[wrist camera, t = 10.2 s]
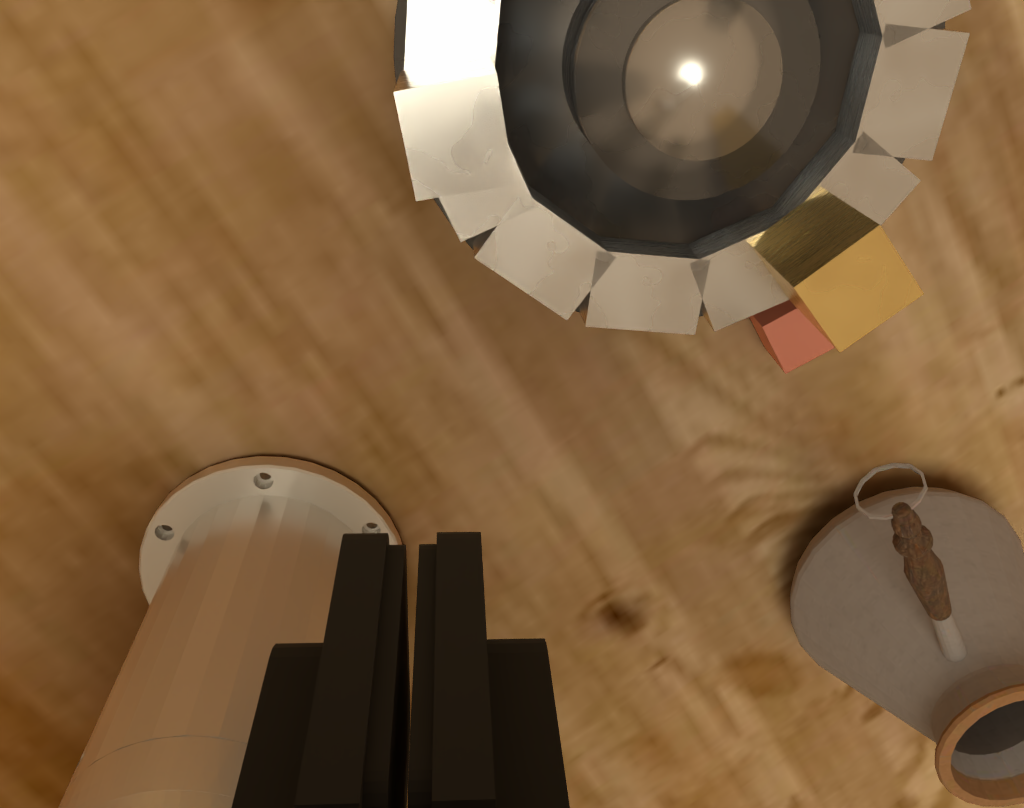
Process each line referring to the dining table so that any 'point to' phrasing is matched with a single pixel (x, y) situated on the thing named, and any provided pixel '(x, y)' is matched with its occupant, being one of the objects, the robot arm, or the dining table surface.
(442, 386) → the dining table surface
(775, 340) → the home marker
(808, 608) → the coffee pot
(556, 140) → the grey round platform
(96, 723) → the robot arm
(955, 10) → the crenellated round base
